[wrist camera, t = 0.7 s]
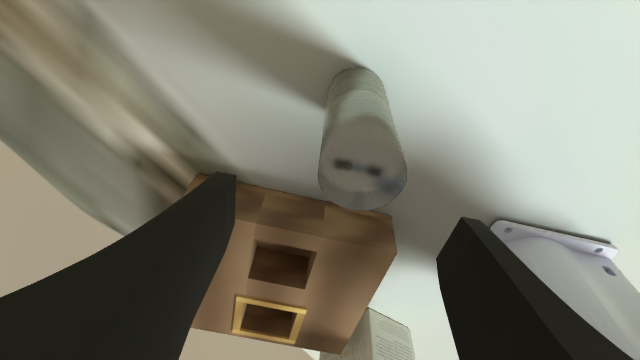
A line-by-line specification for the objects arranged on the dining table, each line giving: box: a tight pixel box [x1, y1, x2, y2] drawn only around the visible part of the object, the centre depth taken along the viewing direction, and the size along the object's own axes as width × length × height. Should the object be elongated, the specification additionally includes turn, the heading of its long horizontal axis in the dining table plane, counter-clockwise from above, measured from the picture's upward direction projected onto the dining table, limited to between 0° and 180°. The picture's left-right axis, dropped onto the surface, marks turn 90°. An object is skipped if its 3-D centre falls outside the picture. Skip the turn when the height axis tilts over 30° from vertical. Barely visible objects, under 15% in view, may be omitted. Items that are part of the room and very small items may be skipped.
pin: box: [318, 67, 407, 211], centre depth 15 cm, size 3×3×8 cm
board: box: [181, 174, 397, 355], centre depth 25 cm, size 14×14×4 cm
